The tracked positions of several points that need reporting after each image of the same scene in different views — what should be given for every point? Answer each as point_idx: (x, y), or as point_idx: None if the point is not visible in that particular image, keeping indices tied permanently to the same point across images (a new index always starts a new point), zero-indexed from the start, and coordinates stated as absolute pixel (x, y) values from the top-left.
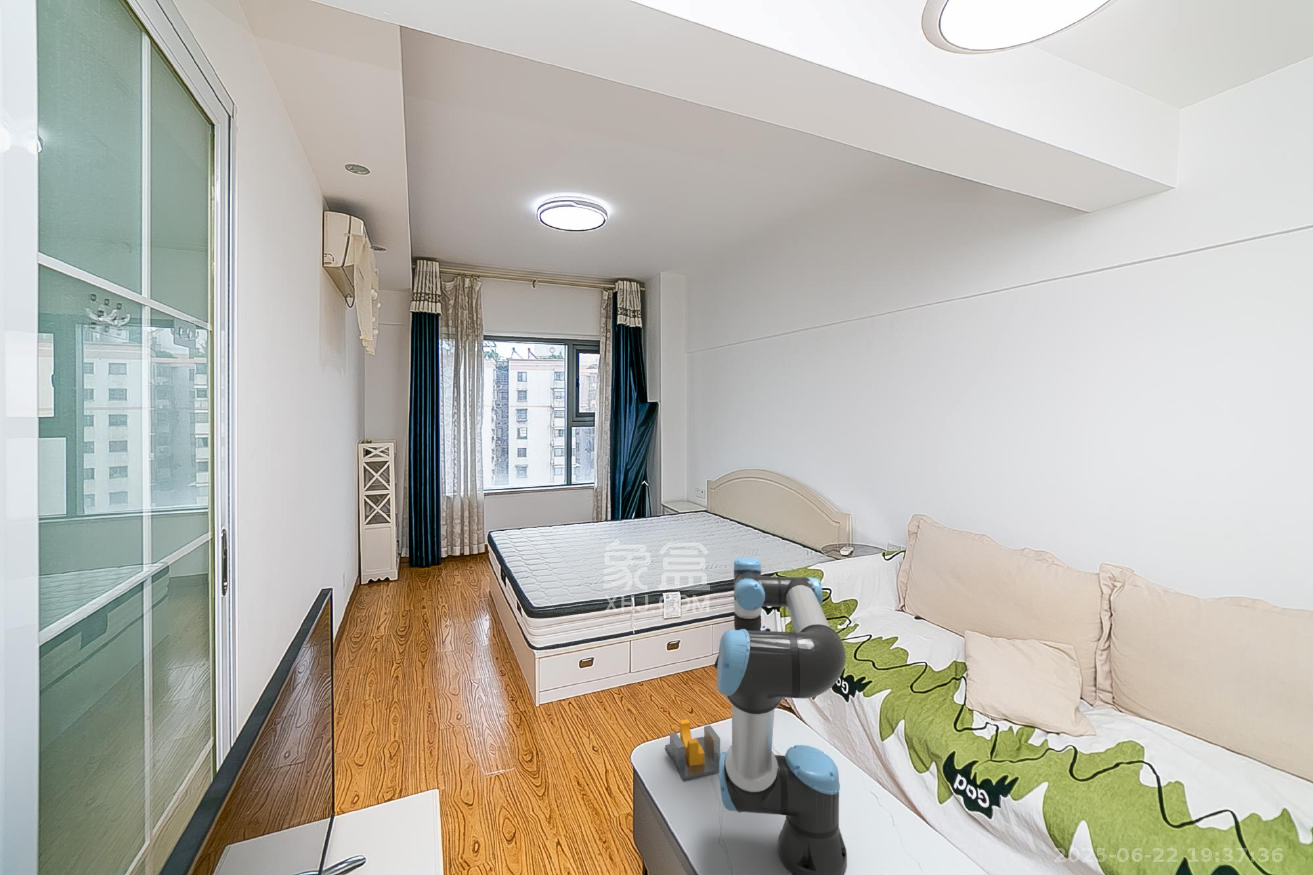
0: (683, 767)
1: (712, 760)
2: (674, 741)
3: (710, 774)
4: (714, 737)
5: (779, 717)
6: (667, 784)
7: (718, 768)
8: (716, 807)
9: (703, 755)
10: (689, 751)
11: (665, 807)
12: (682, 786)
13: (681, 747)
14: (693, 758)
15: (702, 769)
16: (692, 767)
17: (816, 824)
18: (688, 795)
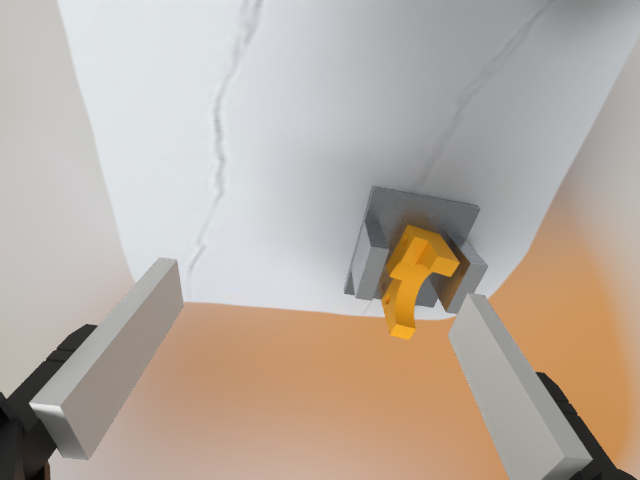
0: (454, 236)
1: (384, 224)
2: (475, 289)
3: (413, 194)
4: (380, 256)
5: (144, 272)
6: (511, 215)
7: (393, 195)
8: (486, 90)
9: (415, 234)
10: (451, 252)
11: (573, 156)
12: (491, 193)
13: (479, 264)
14: (437, 239)
15: (425, 211)
16: (439, 227)
17: None
18: (504, 162)
